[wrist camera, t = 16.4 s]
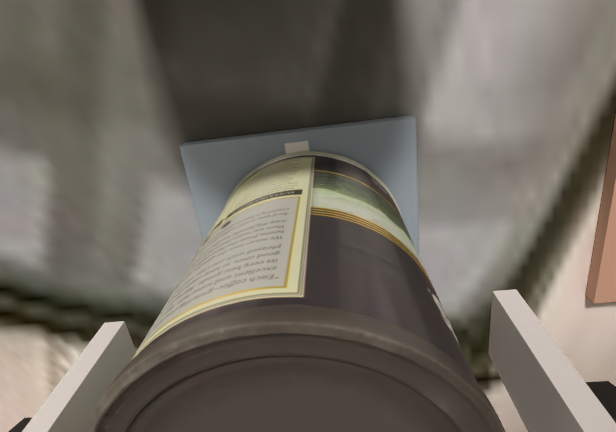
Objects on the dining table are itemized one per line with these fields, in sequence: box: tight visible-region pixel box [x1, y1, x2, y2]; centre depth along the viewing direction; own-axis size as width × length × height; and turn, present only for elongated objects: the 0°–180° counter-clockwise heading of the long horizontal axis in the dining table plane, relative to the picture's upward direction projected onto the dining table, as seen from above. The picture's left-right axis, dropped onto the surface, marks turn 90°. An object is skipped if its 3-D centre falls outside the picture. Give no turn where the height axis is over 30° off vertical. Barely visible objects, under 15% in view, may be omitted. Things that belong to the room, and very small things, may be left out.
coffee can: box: [85, 151, 505, 432], centre depth 16 cm, size 10×10×14 cm
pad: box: [179, 115, 419, 255], centre depth 23 cm, size 12×12×1 cm
